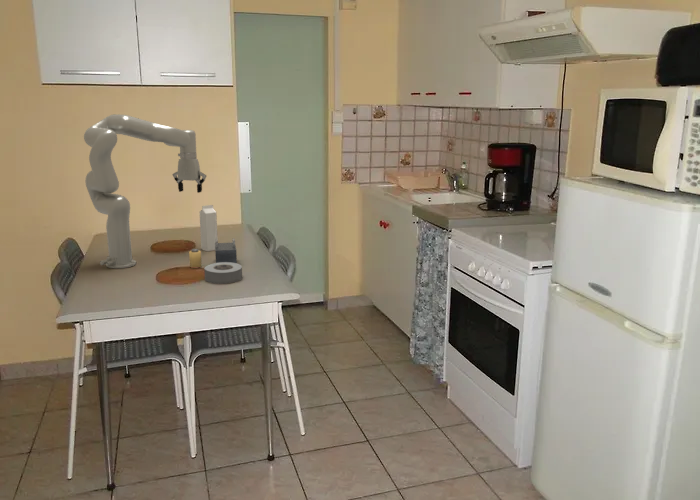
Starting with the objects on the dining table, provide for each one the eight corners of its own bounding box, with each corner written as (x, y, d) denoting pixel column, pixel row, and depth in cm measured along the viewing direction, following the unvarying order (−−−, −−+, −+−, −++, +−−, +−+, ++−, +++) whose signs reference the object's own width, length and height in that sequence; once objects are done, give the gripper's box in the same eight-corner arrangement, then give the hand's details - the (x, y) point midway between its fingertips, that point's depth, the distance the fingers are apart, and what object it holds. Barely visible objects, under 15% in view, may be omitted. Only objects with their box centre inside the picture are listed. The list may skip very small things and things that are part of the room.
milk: (218, 249, 296) (216, 205, 291) (207, 251, 292) (205, 207, 286) (211, 247, 300) (210, 203, 295) (200, 249, 296) (199, 205, 291)
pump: (196, 268, 262) (195, 251, 260) (187, 267, 265) (186, 250, 263) (203, 266, 267) (203, 249, 265) (195, 264, 269) (194, 247, 267)
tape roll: (247, 281, 247) (247, 269, 246) (211, 286, 239) (210, 274, 238) (235, 271, 260) (234, 260, 258) (200, 276, 252) (199, 264, 251)
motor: (236, 267, 266) (236, 243, 263) (216, 268, 264) (215, 243, 261) (235, 257, 282) (234, 234, 279) (215, 258, 280) (214, 235, 277)
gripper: (168, 156, 285) (170, 192, 289) (201, 157, 281) (203, 193, 285) (175, 155, 292) (177, 189, 296) (208, 156, 288) (210, 191, 292)
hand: (190, 191), depth 291 cm, fingers open, 9 cm apart
